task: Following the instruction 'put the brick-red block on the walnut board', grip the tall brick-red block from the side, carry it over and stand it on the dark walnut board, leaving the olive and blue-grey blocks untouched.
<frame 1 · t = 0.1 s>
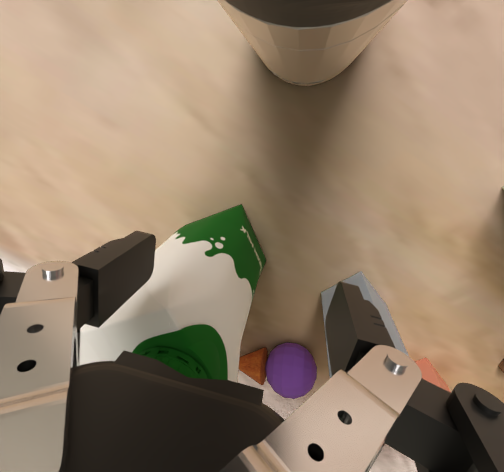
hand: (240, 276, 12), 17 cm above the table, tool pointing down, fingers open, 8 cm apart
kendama: (239, 346, 37), on the table
blue grey block: (353, 298, 31), on the table
milk carton: (225, 241, 31), on the table
red block: (416, 378, 34), on the table
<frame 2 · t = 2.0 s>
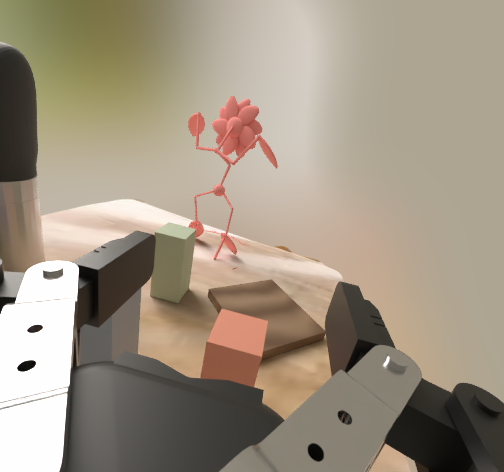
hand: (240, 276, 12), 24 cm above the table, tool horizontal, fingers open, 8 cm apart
olive block: (170, 292, 50), on the table
blue grey block: (104, 380, 32), on the table
red block: (220, 415, 31), on the table
figurine: (217, 246, 72), on the table
walnut board: (262, 316, 48), on the table
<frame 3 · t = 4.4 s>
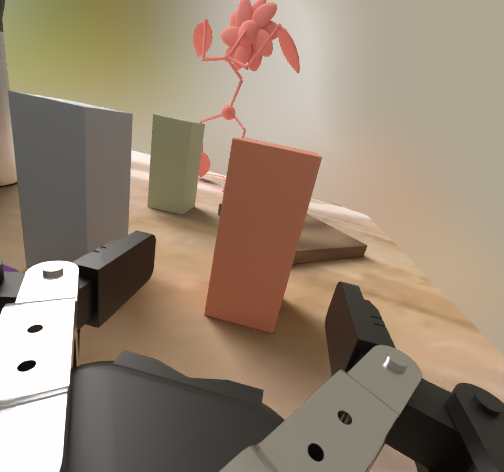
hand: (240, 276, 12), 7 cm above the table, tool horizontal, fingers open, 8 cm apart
olive block: (172, 206, 41), on the table
blue grey block: (81, 260, 23), on the table
red block: (245, 304, 22), on the table
figurine: (226, 185, 63), on the table
walnut board: (286, 233, 39), on the table
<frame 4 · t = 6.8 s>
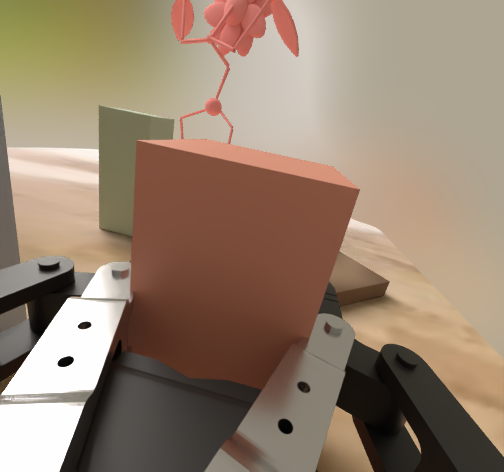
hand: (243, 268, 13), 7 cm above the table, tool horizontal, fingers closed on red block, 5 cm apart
olive block: (134, 226, 32), on the table
red block: (206, 425, 13), on the table, touching gripper
figurine: (212, 193, 54), on the table
walnut board: (281, 262, 30), on the table
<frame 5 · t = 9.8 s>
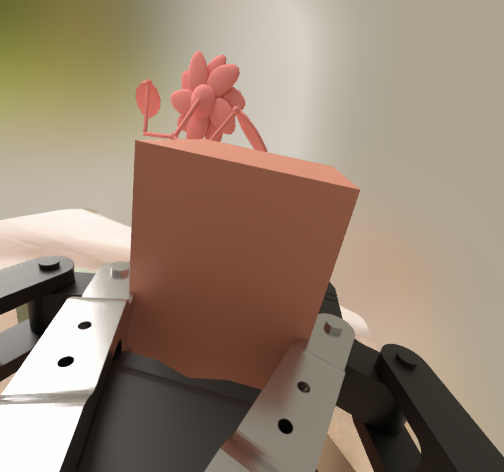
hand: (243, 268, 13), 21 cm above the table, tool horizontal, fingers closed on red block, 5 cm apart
red block: (205, 426, 13), point 14 cm above the table, touching gripper
figurine: (185, 279, 50), on the table
walnut board: (241, 438, 26), on the table
when the fingers open (9 cm above the table, at t = 13.2 s): red block drops 1 cm, resting on walnut board.
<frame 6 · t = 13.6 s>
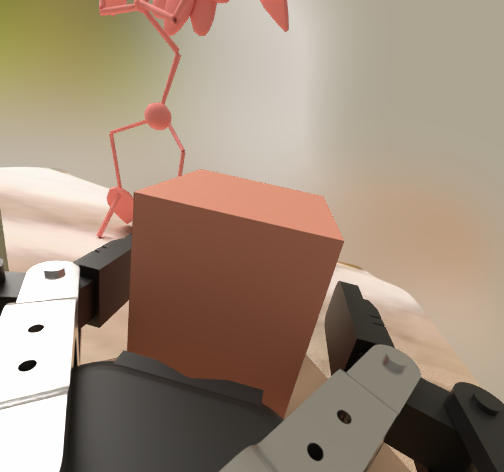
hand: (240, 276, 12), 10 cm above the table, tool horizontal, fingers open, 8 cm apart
red block: (202, 443, 13), point 2 cm above the table, touching walnut board
figurine: (168, 239, 37), on the table
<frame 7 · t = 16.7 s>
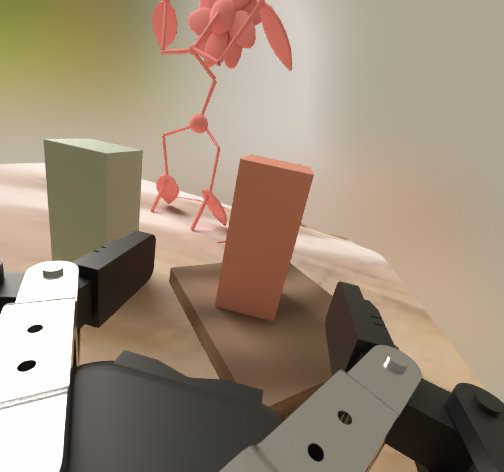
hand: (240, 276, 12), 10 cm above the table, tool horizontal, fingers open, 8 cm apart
olive block: (98, 273, 27), on the table
red block: (248, 297, 25), point 2 cm above the table, touching walnut board
figurine: (200, 215, 49), on the table
walnut board: (270, 318, 25), on the table
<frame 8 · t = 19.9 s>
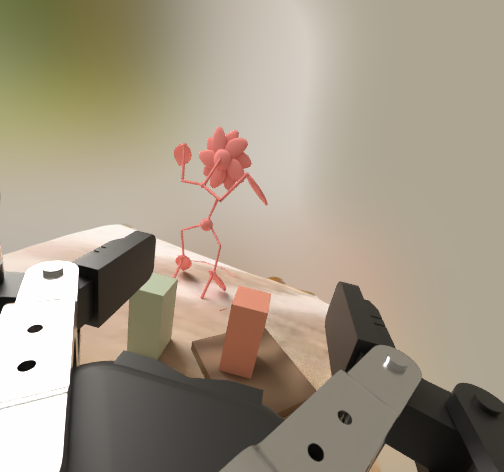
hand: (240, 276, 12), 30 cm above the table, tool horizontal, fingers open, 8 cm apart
olive block: (150, 345, 46), on the table
red block: (237, 362, 44), point 2 cm above the table, touching walnut board
figurine: (206, 280, 68), on the table
walnut board: (250, 373, 44), on the table
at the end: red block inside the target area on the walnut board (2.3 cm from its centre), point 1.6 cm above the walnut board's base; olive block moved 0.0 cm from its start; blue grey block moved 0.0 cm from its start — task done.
